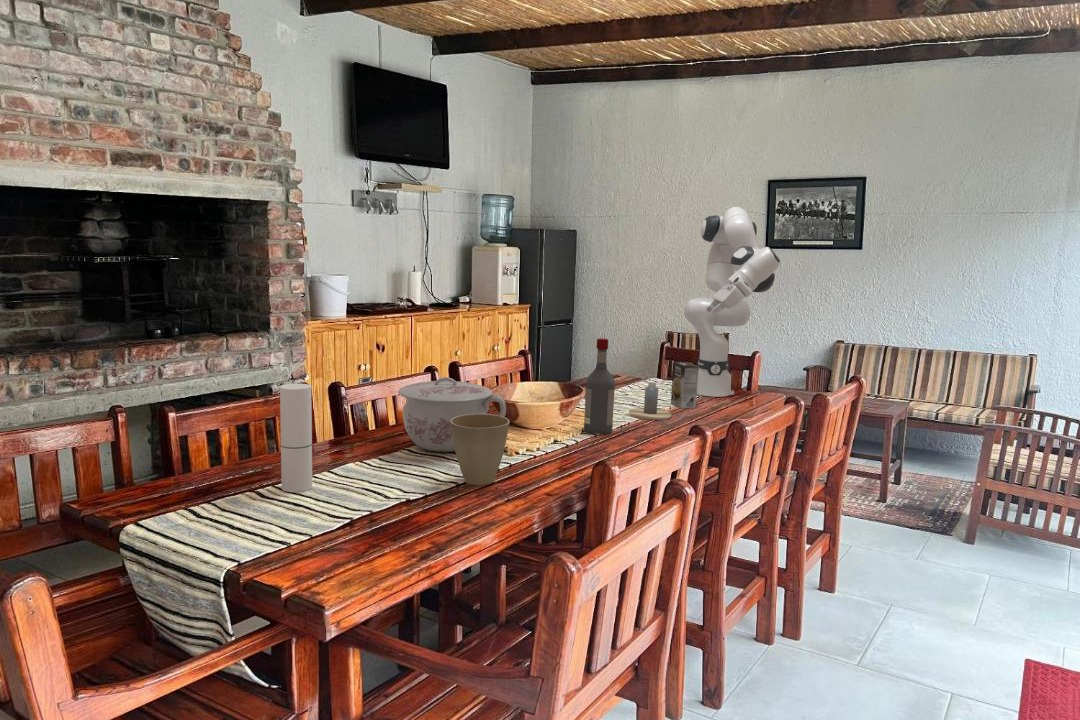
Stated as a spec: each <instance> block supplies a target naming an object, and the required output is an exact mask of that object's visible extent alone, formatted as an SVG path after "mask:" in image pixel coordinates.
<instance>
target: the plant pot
mask: <svg viewBox="0 0 1080 720" xmlns="http://www.w3.org/2000/svg"><path fill="white" fill-rule="evenodd" d="M510 422H511V421H510V419H508V418H507V417H505V416H504V417H502V416H499V415H497V414H490V413H487V414H467V415H461V416H457V417H454V418H452V419H451V420H450V423H451V430H452V437H453V443H454V448H455V452H454V453H455V454H456V459H457V462H458V466H459V468H460V472H461V474H462V477H463V480H464V482H465V483H466V484H468V485H472V486H486V485H487V486H489V485H491V484H492V483H494V481H495V479H496V476H497V474H498V471H499V468H500V466H501V465H500V464H501V463H502V458H503V455H504V451H505V448H506V444H507V439H508V433H509V428H510V427H509V426H510Z"/></svg>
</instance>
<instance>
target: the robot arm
mask: <svg viewBox="0 0 1080 720" xmlns="http://www.w3.org/2000/svg"><path fill="white" fill-rule="evenodd" d="M700 233H701V238H702V239H703V241H705V242H708V243H712V245H711V247H710V250H709V254H708V258H707V265H706V273H705V284H706V286H707V287H708V288H709V290H711V291H712V292H714V294H713V296H712V297H695V298H690V299H689V300H688V301H687V302H686V304H685V306H684V309H683V310H684V311H683V313H684V318H685V319H686V320H687V322H688V323H689V324H691V325H692V327H694V329H695V330H696V332H697V334H698V338H699V357H698V361H697V366H699V371H698V384H697V395H698V396H705V397H714V398H715V397H716V398H718V397H719V398H721V397H723V398H724V397H728V396H732V395H733V396H734V395H735V391H733V390H731V389H732V387H731V385H732V375H731V373H730V372H729V371H728V368H729V360H728V355H729V341H728V340H727V338H726V337H725V336H724V335H721V334H720V333H718V332H717V331H716V330H715V328H714V327H716V326H717V327H731V328H734V327H740V326H744V325H746V324H747V322H748V321H749V320H750V316H751V310H750V309H751V308H750V307H749V305H748V303H747V302H746V301H744V299H745V298H748V297H749V296H750V295H752V293H764V292H765V293H766V292H767V291H768V290H770V289H771V288H772V287H773V285H774V282H775V277H776V275H775V273H774V272H775V271H776V270H777V269H778V268H779V266H780V265H781V260H780V258H779V256H778V255H777V254H776V253H775V251H774V250H773V249H772V248H771V247H769V246H766V247H763V248H760V245H759V242H758V239H757V236H758V228H757V225H756V223H755V222H754V221H752V219H751V216H750V215H749V213H748V212H747V211H746V209H744V208H743V207H740V206H733V207H730V208H728V209H727V210H726V211H725V213H724V215H723V216H722V215H718V214H717V215H709V216H707V217H705V218H704V220H703V221H702V224H701V226H700Z"/></svg>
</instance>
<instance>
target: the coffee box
mask: <svg viewBox="0 0 1080 720" xmlns="http://www.w3.org/2000/svg"><path fill="white" fill-rule="evenodd" d="M672 365H673V366H672V377H671V378H672V380H671V394H670V395H671V396H670V397H671V398H670V404H672V405H674V406H676V407H678V408H680V409H696V408H697V406H696V405H697V395H698V394H697V384H698V371H699V366H698V364H694V363H691V362H689V361H674V362H673V364H672Z"/></svg>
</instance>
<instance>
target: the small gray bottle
mask: <svg viewBox="0 0 1080 720" xmlns="http://www.w3.org/2000/svg"><path fill="white" fill-rule="evenodd" d="M644 390H645V391H644V399H643V400H644V404H643V408H644V413H646V414H656V413H657V409H658V403H659V402H658V401H659V387H657V382H656V381H648V382H647V386H645V387H644Z"/></svg>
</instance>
